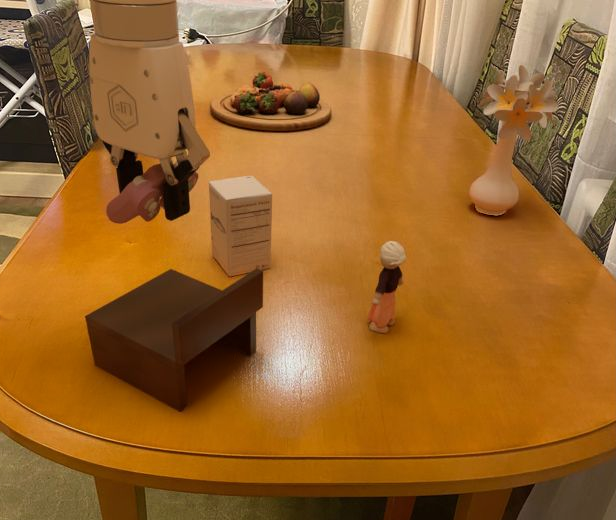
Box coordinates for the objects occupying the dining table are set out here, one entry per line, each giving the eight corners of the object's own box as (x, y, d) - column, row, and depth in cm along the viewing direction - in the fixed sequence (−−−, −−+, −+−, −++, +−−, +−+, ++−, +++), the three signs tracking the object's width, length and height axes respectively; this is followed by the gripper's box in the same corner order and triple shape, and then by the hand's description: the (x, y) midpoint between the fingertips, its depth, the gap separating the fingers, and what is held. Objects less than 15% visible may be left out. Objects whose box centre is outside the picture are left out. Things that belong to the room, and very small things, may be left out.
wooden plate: (220, 93, 173) (219, 62, 168) (331, 101, 173) (333, 70, 168) (199, 128, 147) (197, 92, 142) (330, 136, 147) (333, 101, 142)
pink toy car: (130, 245, 64) (147, 196, 59) (99, 216, 64) (113, 166, 59) (192, 214, 71) (211, 167, 66) (163, 188, 71) (180, 140, 66)
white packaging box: (210, 256, 97) (207, 180, 89) (253, 248, 100) (253, 173, 92) (227, 278, 92) (225, 199, 84) (272, 269, 94) (273, 191, 87)
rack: (94, 365, 74) (76, 278, 66) (175, 314, 83) (167, 233, 76) (187, 415, 67) (178, 326, 60) (262, 354, 77) (263, 270, 70)
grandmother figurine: (374, 309, 87) (386, 228, 79) (400, 315, 86) (415, 234, 78) (358, 337, 81) (369, 253, 73) (386, 344, 80) (400, 260, 72)
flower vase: (464, 230, 109) (498, 83, 94) (452, 190, 124) (480, 58, 109) (537, 236, 109) (582, 89, 94) (516, 195, 124) (552, 63, 109)
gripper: (39, 13, 56) (74, 197, 67) (178, 42, 49) (192, 243, 60) (102, 5, 61) (125, 178, 72) (236, 31, 54) (239, 218, 65)
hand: (155, 206), depth 66 cm, fingers closed on pink toy car, 5 cm apart
